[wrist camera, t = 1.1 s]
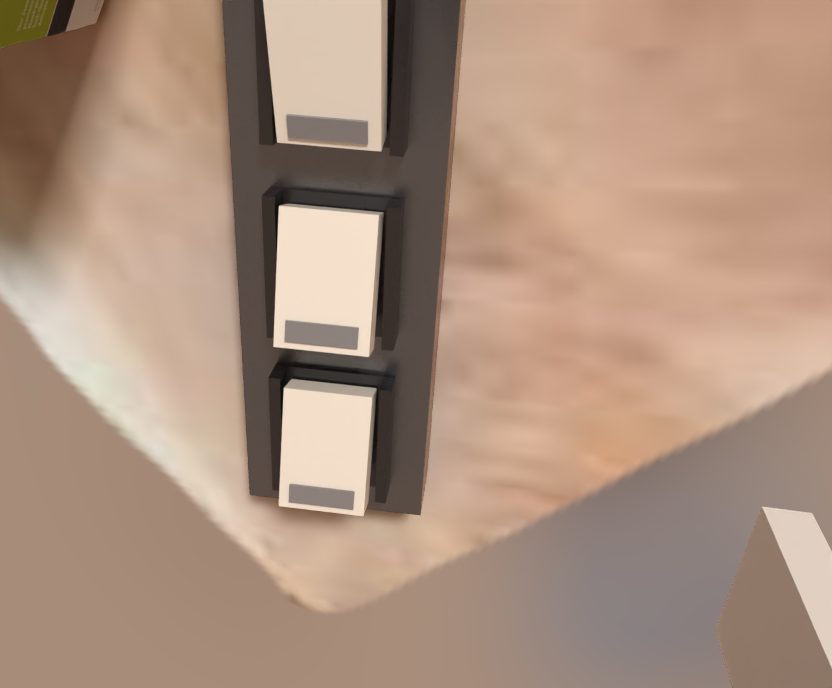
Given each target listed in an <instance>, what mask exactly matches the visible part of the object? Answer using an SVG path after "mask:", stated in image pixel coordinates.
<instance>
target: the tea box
mask: <svg viewBox="0 0 832 688" xmlns="http://www.w3.org/2000/svg"><path fill="white" fill-rule="evenodd" d="M103 3H104V0H0V49H1V48H3V47H6V46H9V45H13V44H17V43H24V42H28V41H32V40H36V39H40V38H43V37H46V36H52V35H55V34H59V33H62V32H68V31H72V30H75V29H79V28H82V27H84V26H88V25H92V24H95V23H96V22H97V20H98V17H99V14H100V11H101V8H102V6H103Z"/></svg>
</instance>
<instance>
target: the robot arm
mask: <svg viewBox="0 0 832 688" xmlns="http://www.w3.org/2000/svg"><path fill="white" fill-rule="evenodd" d="M715 630H716V633H717V637H718V640H719V644H720V647H721V651H722V654H723V658H724V661H725V665H726V668H727V671H728V675H729V678H730V682H731V685H732V688H832V552H831V549H830V548H829V545H828V543H827V542H826V540H825V538H824V536H823V534H822V532H821V530H820V528H819V526H818V524H817V522H816V520H815V518H814V516H813V514H812V513H806V512H798V511H791V510H784V509H776V508H768V507H762V508H761V511H760V513H759V516H758V519H757V521H756V524H755V527H754V529H753V532H752V534H751V538H750V540H749V542H748V545H747V548H746V550H745V553H744V555H743V558H742V561H741V563H740V566H739V569H738V571H737V574H736V576H735V579H734V582H733V584H732V587H731V590H730V592H729V595H728V597H727V600H726V603H725V605H724V608H723V611H722V613H721V616H720V618H719V621H718V624H717V626H716V629H715Z"/></svg>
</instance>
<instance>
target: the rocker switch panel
mask: <svg viewBox="0 0 832 688" xmlns="http://www.w3.org/2000/svg"><path fill="white" fill-rule="evenodd" d="M222 1H223V19H224V37H225V55H226V73H227V91H228V109H229V127H230V145H231V163H232V181H233V199H234V217H235V235H236V253H237V271H238V289H239V307H240V325H241V343H242V361H243V379H244V397H245V415H246V433H247V451H248V469H249V487H250V495H256V496H265V497H273V498H279V487H280V464H281V441H282V418H283V395H284V387H285V386H286V385H287V384H288V383H289V381H290V380H291V379H297V380H306V381H315V382H325V383H334V384H343V385H352V386H361V387H371V388H377V392H376V406H375V419H374V433H373V446H372V460H371V473H370V487H369V500H368V505H367V508H366V509H373V510H381V511H390V512H398V513H406V514H415V515H421V509H422V502H423V496H424V490H425V484H426V477H427V470H428V458H429V445H430V433H431V421H432V408H433V396H434V384H435V371H436V359H437V347H438V334H439V322H440V310H441V298H442V285H443V273H444V261H445V248H446V236H447V224H448V211H449V199H450V187H451V174H452V162H453V150H454V137H455V125H456V113H457V100H458V88H459V76H460V63H461V51H462V39H463V26H464V14H465V2H466V0H388V10H387V135H386V139H385V142H384V145H383V148H382V151H381V152H380V151H368V150H357V149H345V148H334V147H322V146H311V145H299V144H288V143H277V136H276V126H275V116H274V106H273V96H272V86H271V76H270V66H269V56H268V46H267V36H266V26H265V16H264V6H263V0H222ZM284 204H298V205H309V206H320V207H331V208H341V209H352V210H363V211H374V212H384V217H383V231H382V245H381V258H380V272H379V286H378V300H377V314H376V327H375V341H374V349H373V351H372V353H371V354H370V356H369V357H364V356H355V355H345V354H336V353H327V352H317V351H308V350H298V349H289V348H279V347H273V344H274V318H275V292H276V267H277V241H278V215H279V206H280V205H284Z"/></svg>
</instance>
